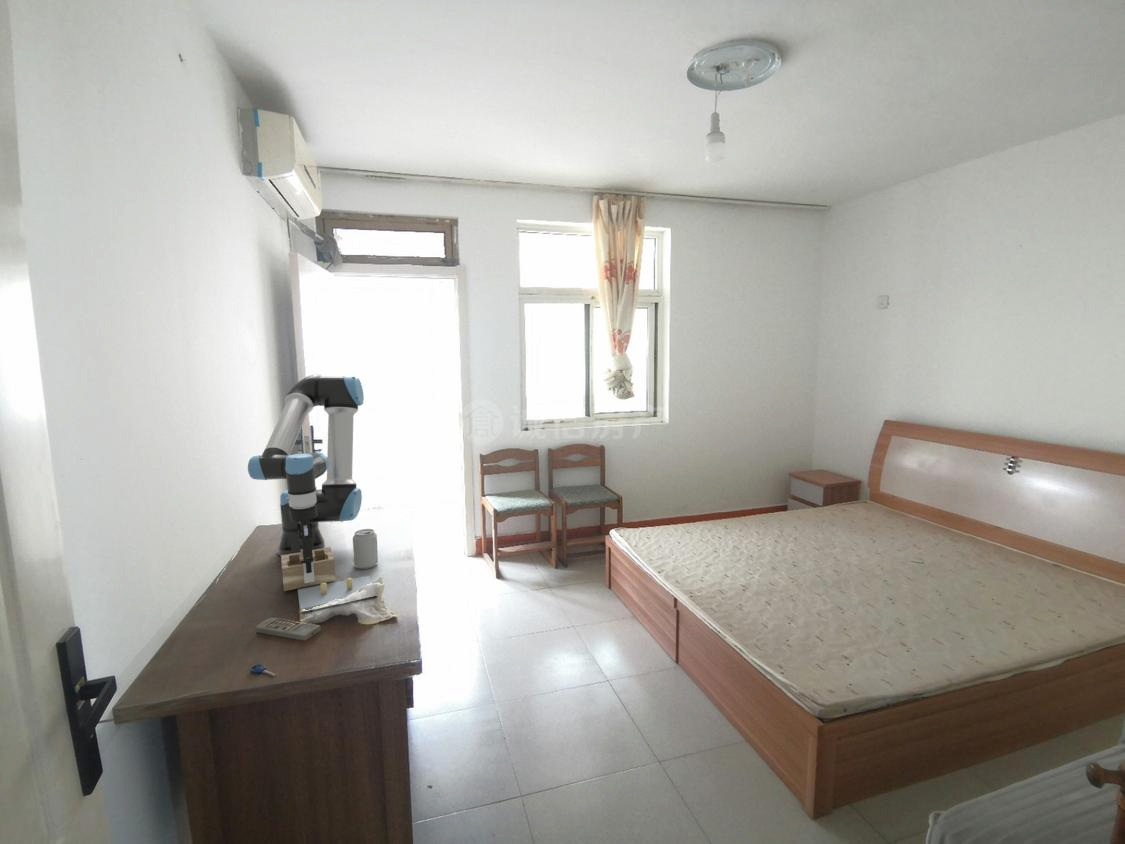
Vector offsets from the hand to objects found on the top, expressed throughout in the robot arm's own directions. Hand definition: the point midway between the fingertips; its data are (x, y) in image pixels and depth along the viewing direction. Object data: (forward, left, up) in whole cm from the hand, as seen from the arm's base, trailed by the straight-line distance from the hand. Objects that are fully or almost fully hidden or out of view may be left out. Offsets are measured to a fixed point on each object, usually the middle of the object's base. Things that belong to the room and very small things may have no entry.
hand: (308, 575), depth 159 cm
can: (-6, +18, -3) cm, 19 cm away
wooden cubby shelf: (0, 0, -1) cm, 1 cm away
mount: (+13, +7, -3) cm, 15 cm away
